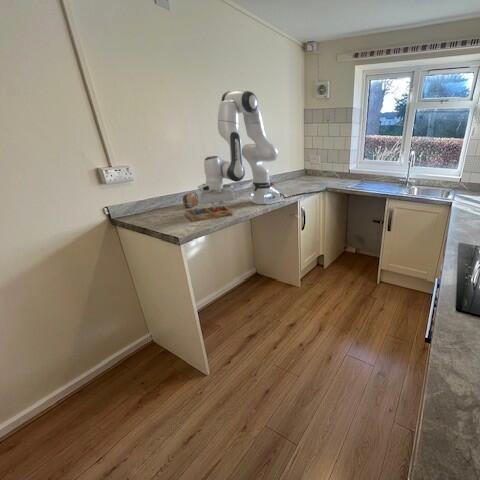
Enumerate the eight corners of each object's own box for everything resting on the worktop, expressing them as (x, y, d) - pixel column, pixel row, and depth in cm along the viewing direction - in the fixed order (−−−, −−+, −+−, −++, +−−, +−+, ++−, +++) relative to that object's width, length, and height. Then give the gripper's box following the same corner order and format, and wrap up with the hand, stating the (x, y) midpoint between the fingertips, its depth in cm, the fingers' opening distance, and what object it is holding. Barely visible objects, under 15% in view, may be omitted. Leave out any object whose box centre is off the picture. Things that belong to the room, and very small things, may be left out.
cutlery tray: (223, 209, 163) (223, 205, 162) (232, 215, 153) (231, 210, 152) (185, 215, 150) (185, 210, 149) (192, 221, 140) (191, 216, 139)
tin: (188, 209, 162) (186, 195, 159) (183, 208, 162) (181, 195, 159) (199, 203, 176) (197, 191, 173) (194, 203, 176) (192, 190, 173)
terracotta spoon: (212, 210, 157) (211, 205, 156) (218, 209, 159) (217, 205, 158) (218, 214, 149) (217, 209, 148) (224, 213, 152) (223, 208, 150)
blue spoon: (193, 213, 151) (193, 208, 150) (200, 212, 153) (199, 207, 152) (198, 217, 143) (197, 212, 142) (205, 216, 146) (204, 211, 144)
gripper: (230, 183, 157) (232, 205, 162) (194, 186, 145) (198, 210, 150) (234, 185, 152) (236, 207, 157) (198, 188, 140) (201, 212, 145)
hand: (217, 209), depth 154 cm, fingers closed on terracotta spoon
